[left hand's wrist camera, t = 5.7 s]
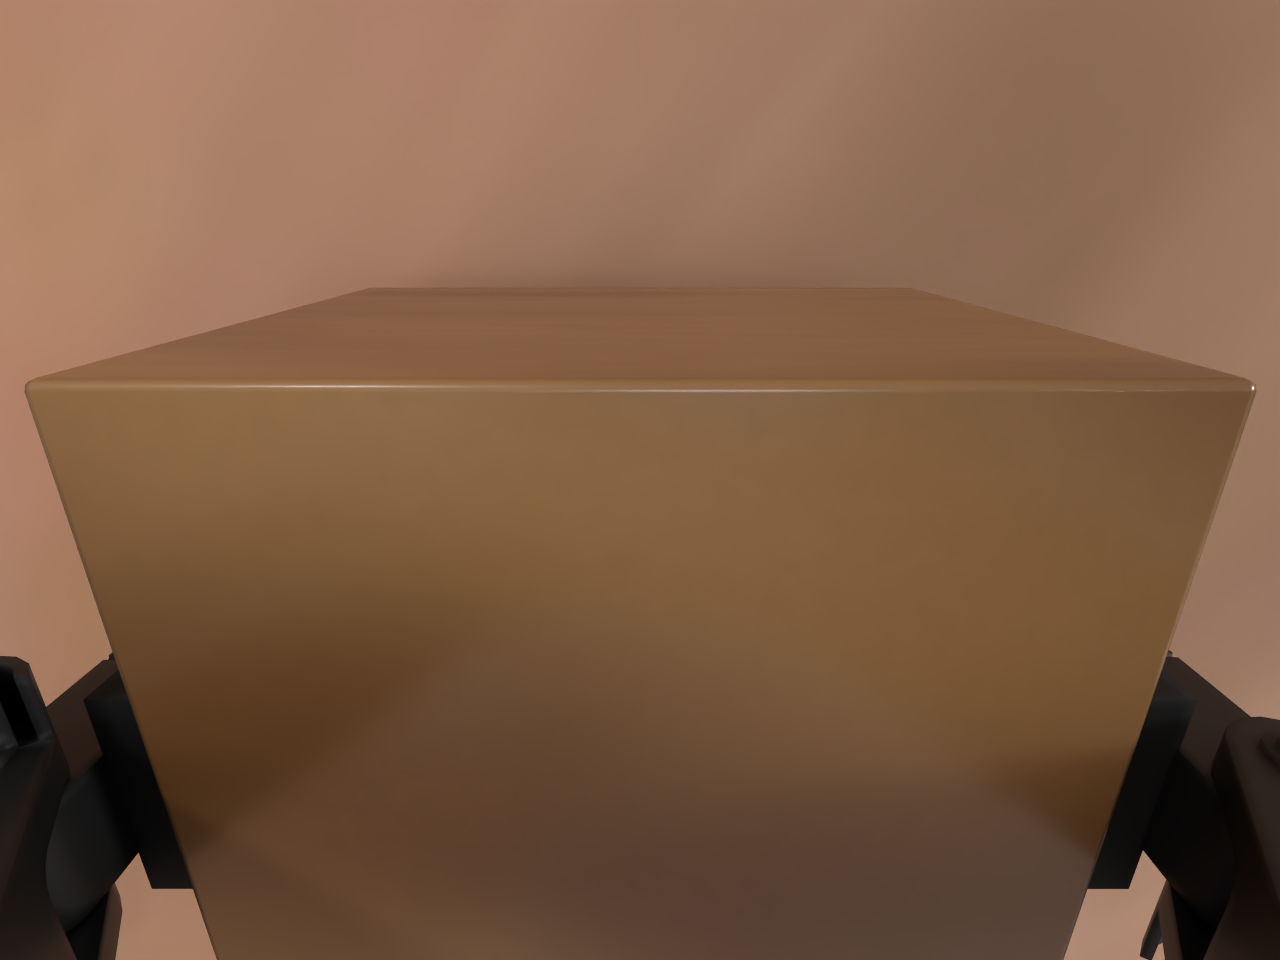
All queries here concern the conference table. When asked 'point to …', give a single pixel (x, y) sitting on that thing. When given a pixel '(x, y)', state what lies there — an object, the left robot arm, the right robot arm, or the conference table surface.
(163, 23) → the conference table surface
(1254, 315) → the conference table surface
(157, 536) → the long wooden beam
